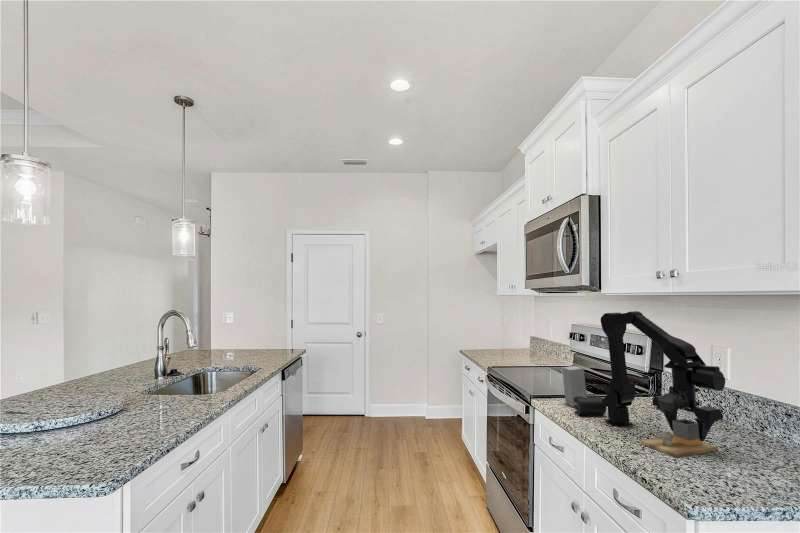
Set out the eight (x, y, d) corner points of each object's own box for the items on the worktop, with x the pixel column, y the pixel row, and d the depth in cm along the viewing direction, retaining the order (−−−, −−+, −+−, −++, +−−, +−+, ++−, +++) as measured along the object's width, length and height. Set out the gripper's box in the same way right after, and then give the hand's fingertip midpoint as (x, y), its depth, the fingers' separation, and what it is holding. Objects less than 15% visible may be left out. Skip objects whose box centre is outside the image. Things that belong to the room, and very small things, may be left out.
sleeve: (686, 438, 128) (684, 418, 128) (701, 443, 123) (700, 423, 123) (673, 440, 126) (672, 420, 127) (689, 445, 121) (687, 425, 122)
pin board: (640, 443, 127) (639, 428, 127) (679, 437, 131) (678, 423, 132) (675, 457, 115) (674, 441, 116) (717, 450, 120) (716, 435, 120)
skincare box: (588, 407, 167) (586, 368, 168) (571, 408, 167) (569, 369, 168) (580, 402, 175) (577, 365, 176) (563, 402, 175) (561, 365, 177)
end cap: (580, 418, 154) (579, 399, 155) (573, 412, 161) (572, 395, 162) (607, 417, 154) (606, 399, 154) (598, 412, 161) (597, 394, 161)
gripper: (637, 380, 132) (640, 429, 131) (692, 393, 115) (696, 450, 113) (664, 377, 136) (667, 425, 134) (722, 390, 118) (726, 445, 117)
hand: (687, 435), depth 125 cm, fingers open, 9 cm apart
